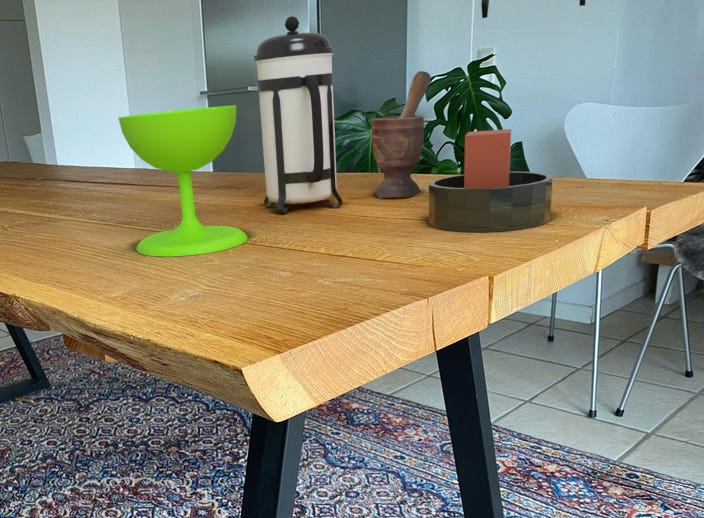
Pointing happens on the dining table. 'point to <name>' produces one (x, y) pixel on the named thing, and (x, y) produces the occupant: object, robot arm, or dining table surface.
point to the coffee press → (297, 118)
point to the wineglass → (183, 171)
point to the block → (487, 159)
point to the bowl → (490, 204)
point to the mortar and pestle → (400, 143)
